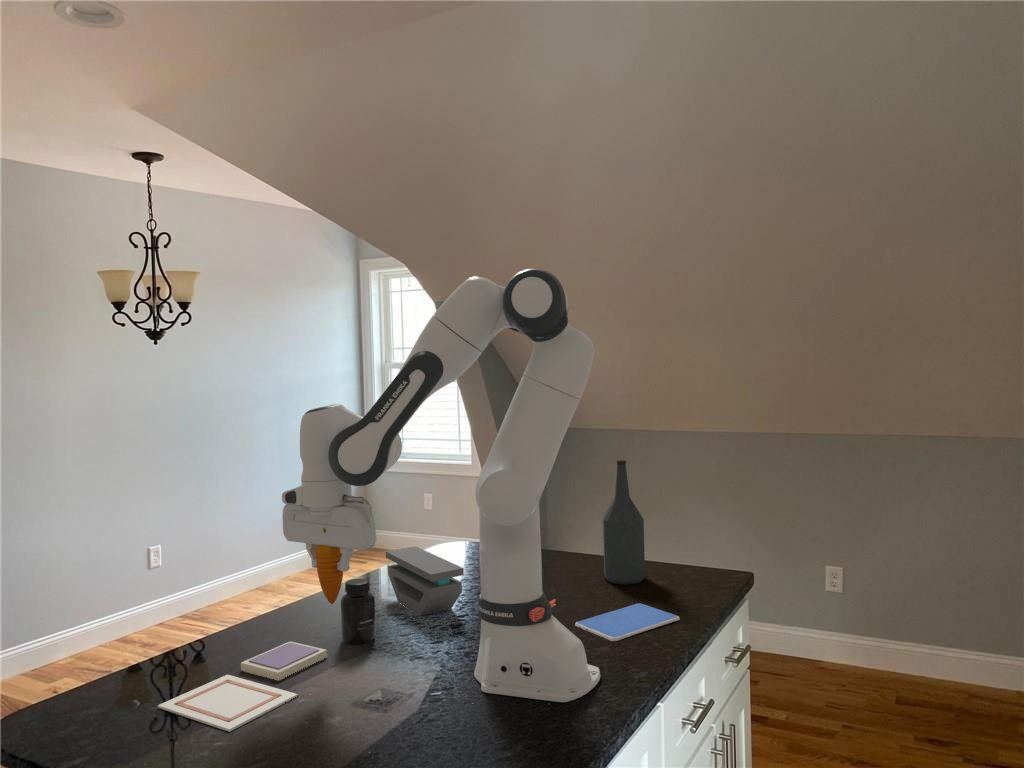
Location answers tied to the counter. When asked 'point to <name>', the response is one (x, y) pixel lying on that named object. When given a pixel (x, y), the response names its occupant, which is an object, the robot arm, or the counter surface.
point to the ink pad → (283, 660)
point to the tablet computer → (626, 621)
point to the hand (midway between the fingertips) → (330, 569)
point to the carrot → (329, 570)
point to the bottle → (623, 535)
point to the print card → (227, 702)
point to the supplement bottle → (357, 613)
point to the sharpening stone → (424, 580)
